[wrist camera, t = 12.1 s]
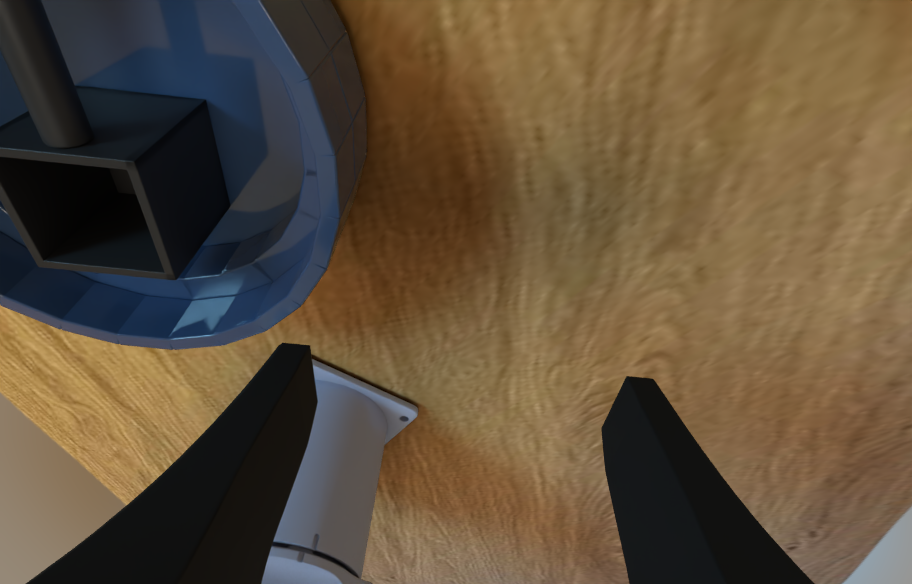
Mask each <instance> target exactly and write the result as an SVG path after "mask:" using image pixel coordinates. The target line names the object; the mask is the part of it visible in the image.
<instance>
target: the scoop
mask: <svg viewBox="0 0 912 584" xmlns="http://www.w3.org/2000/svg"><path fill="white" fill-rule="evenodd" d="M0 51H1V53H2V55H3V58H4V60H5V62H6V64H7V66H8V68H9V70H10V73H11V75H12V77H13V79H14V81H15V83H16V85H17V88H18V90H19V92H20V94H21V96H22V98H23V100H24V103H25V105H26V107H27V109H28V111H27V112H25V113H24V114H22V115H20V116H18V117H16V118H15V119H13V120H11V121H9V122H7V123H6V124H4V125H2V126H0V201H1V202H2V204H3V206H4V208H5V209H6V211H7V213H8V215H9V216H10V218H11V220H12V222H13V223H14V225H15V227H16V229H17V230H18V232H19V234H20V236H21V237H22V239H23V241H24V243H25V244H26V246H27V248H28V250H29V251H30V253H31V255H32V257H33V258H34V260H35V262H36V264H37V265H38V267H43V268H53V269H64V270H74V271H84V272H94V273H104V274H114V275H124V276H134V277H144V278H154V279H164V280H174V281H176V280H177V279H178V277H179V276H180V275H181V273H182V272H183V271H184V269H185V268H186V266H187V265H188V264H189V262H190V261H191V260H192V258H193V257H194V256H195V254H196V253H197V251H198V250H199V249H200V247H201V246H202V245H203V243H204V242H205V241H206V239H207V238H208V236H209V235H210V234H211V232H212V231H213V230H214V228H215V227H216V226H217V224H218V223H219V221H220V220H221V219H222V217H223V216H224V215H225V213H226V212H227V210H228V209H229V208H230V202H229V197H228V193H227V189H226V185H225V180H224V176H223V172H222V167H221V163H220V159H219V154H218V150H217V146H216V141H215V137H214V133H213V128H212V124H211V120H210V115H209V111H208V107H207V103H206V100H205V99H196V98H187V97H178V96H169V95H159V94H150V93H141V92H132V91H122V90H113V89H104V88H95V87H85V86H76V85H74V83H73V80H72V77H71V75H70V72H69V70H68V67H67V65H66V62H65V60H64V57H63V55H62V52H61V50H60V47H59V44H58V42H57V39H56V37H55V34H54V32H53V29H52V27H51V24H50V22H49V19H48V17H47V14H46V11H45V9H44V6H43V4H42V1H41V0H0Z"/></svg>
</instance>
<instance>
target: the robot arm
mask: <svg viewBox="0 0 912 584" xmlns="http://www.w3.org/2000/svg"><path fill="white" fill-rule="evenodd" d="M417 416H418V408H417V407H416V406H414V405H412V404H410V403H408V402H406V401H404V400H401V399H399V398H397V397H395V396H393V395H391V394H388V393H386V392H384V391H382V390H380V389H377V388H375V387H373V386H371V385H369V384H366V383H364V382H362V381H360V380H358V379H355V378H353V377H351V376H349V375H347V374H344V373H342V372H340V371H338V370H336V369H333V368H331V367H329V366H327V365H325V364H322V363H320V362H318V361H316V360H314V359H312V356H311V349H310V345H300V344H289V343H282V344H281V345H279V346H278V347H277V348H276V350H275V351H274V352H273V354H272V355H271V356H270V357H269V359H268V360H267V361H266V362H265V364H264V365H263V366H262V367H261V369H260V370H259V371H258V372H257V374H256V375H255V376H254V377H253V378H252V380H251V381H250V382H249V383H248V384H247V386H246V387H245V388H244V389H243V390H242V391H241V393H240V394H239V395H238V396H237V397H236V398H235V399H234V400H233V402H232V403H231V404H230V405H229V406H228V407H227V408H226V409H225V411H224V412H223V413H222V414H221V415H220V416H219V417H218V418H217V419H216V421H215V422H214V423H213V424H212V425H211V426H210V427H209V428H208V429H207V430H206V431H205V432H204V433H203V434H202V435H201V436H200V437H199V438H198V439H197V440H196V441H195V442H194V443H193V444H192V445H191V446H190V447H189V448H188V449H187V450H186V451H185V452H184V453H183V454H182V456H181V457H179V458H178V459H177V460H176V461H175V462H174V463H173V464H172V465H171V466H170V467H169V468H168V469H167V470H166V471H165V472H164V473H163V474H162V475H161V476H159V477H158V478H157V479H156V480H155V481H154V482H153V483H152V484H151V485H150V486H148V487H147V488H146V489H145V490H144V491H143V492H142V493H141V494H139V495H138V496H137V497H136V498H135V499H134V500H133V501H131V502H130V503H129V504H128V505H127V506H125V507H124V508H123V509H122V510H121V511H119V512H118V513H117V514H116V515H115V516H113V517H112V518H111V519H110V520H109V521H107V522H106V523H105V524H104V525H103V526H101V527H100V528H99V529H98V530H97V531H95V532H94V533H93V534H91V535H90V536H89V537H88V538H86V539H85V540H84V541H83V542H81V543H80V544H79V545H77V546H76V547H75V548H74V549H72V550H71V551H70V552H68V553H67V554H65V555H64V556H63V557H61V558H60V559H59V560H57V561H56V562H55V563H53V564H52V565H50V566H49V567H48V568H46V569H45V570H44V571H42V572H41V573H40V574H38V575H37V576H36V577H34V578H33V579H32V580H30V581H29V582H27V583H26V584H372V583H371V582H369V581H365V580H362V579H361V576H362V571H363V565H364V559H365V553H366V548H367V542H368V536H369V531H370V525H371V519H372V513H373V508H374V502H375V496H376V491H377V485H378V479H379V474H380V468H381V462H382V456H383V451H384V445H385V444H386V443H388V442H389V441H390V440H391V439H392V438H393V437H395V436H396V435H397V434H398V433H399V432H400V431H401V430H403V429H404V428H405V427H406V426H407V425H408V424H409V423H411V422H412V421H413V420H414V419H415V418H416V417H417ZM602 440H603V452H604V462H605V471H606V476H607V481H608V486H609V490H610V495H611V500H612V504H613V509H614V513H615V518H616V522H617V527H618V531H619V536H620V540H621V545H622V549H623V554H624V558H625V563H626V567H627V573H628V578H629V584H814V583H813V582H812V581H811V580H810V579H809V578H808V577H807V575H806V574H805V573H804V572H803V571H802V570H801V569H800V568H799V567H798V566H797V565H796V564H795V563H794V562H793V561H792V559H791V558H790V557H789V556H788V555H787V554H786V553H785V552H784V551H783V550H782V548H781V547H780V546H779V545H778V544H777V543H776V542H775V541H774V540H773V539H772V537H771V536H770V535H769V534H768V533H767V532H766V531H765V529H764V528H763V527H762V526H761V525H760V524H759V522H758V521H757V520H756V519H755V518H754V516H753V515H752V514H751V513H750V511H749V510H748V509H747V508H746V507H745V505H744V504H743V503H742V502H741V500H740V499H739V498H738V497H737V495H736V494H735V493H734V492H733V490H732V489H731V488H730V486H729V485H728V484H727V482H726V481H725V480H724V479H723V477H722V476H721V475H720V473H719V472H718V471H717V469H716V468H715V466H714V465H713V464H712V462H711V461H710V460H709V458H708V457H707V456H706V454H705V453H704V451H703V450H702V449H701V447H700V446H699V445H698V443H697V442H696V440H695V439H694V437H693V436H692V435H691V433H690V432H689V430H688V429H687V427H686V426H685V425H684V423H683V422H682V420H681V419H680V417H679V416H678V414H677V413H676V411H675V410H674V408H673V407H672V405H671V404H670V403H669V401H668V400H667V398H666V397H665V395H664V394H663V392H662V391H661V389H660V388H659V386H658V385H657V383H656V382H655V381H654V379H650V378H639V377H629V376H627V377H626V379H625V381H624V383H623V385H622V387H621V389H620V391H619V393H618V395H617V397H616V399H615V401H614V404H613V406H612V408H611V410H610V412H609V414H608V416H607V418H606V420H605V422H604V424H603V426H602Z"/></svg>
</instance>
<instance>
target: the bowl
mask: <svg viewBox="0 0 912 584" xmlns="http://www.w3.org/2000/svg"><path fill="white" fill-rule="evenodd" d="M41 1H42V4H43V6H44V9H45V11H46V14H47V17H48V19H49V22H50V24H51V27H52V29H53V32H54V34H55V37H56V39H57V42H58V44H59V47H60V50H61V52H62V55H63V57H64V60H65V62H66V65H67V67H68V70H69V72H70V75H71V77H72V80H73V83H74V85H76V86H85V87H95V88H104V89H113V90H122V91H132V92H141V93H150V94H159V95H169V96H178V97H187V98H196V99H205V100H206V103H207V107H208V111H209V115H210V120H211V124H212V128H213V133H214V137H215V141H216V146H217V150H218V154H219V159H220V163H221V167H222V172H223V176H224V180H225V185H226V189H227V193H228V197H229V202H230V208H229V209H228V210H227V212H226V213H225V215H224V216H223V217H222V219H221V220H220V221H219V223H218V224H217V226H216V227H215V228H214V230H213V231H212V232H211V234H210V235H209V236H208V238H207V239H206V241H205V242H204V243H203V245H202V246H201V247H200V249H199V250H198V251H197V253H196V254H195V256H194V257H193V258H192V260H191V261H190V262H189V264H188V265H187V266H186V268H185V269H184V271H183V272H182V273H181V275H180V276H179V277H178V279H177V280H176V281H174V280H164V279H154V278H144V277H134V276H124V275H114V274H104V273H94V272H84V271H74V270H64V269H53V268H43V267H38V265H37V264H36V262H35V260H34V258H33V257H32V255H31V253H30V251H29V250H28V248H27V246H26V244H25V243H24V241H23V239H22V237H21V236H20V234H19V232H18V230H17V229H16V227H15V225H14V223H13V222H12V220H11V218H10V216H9V215H8V213H7V211H6V209H5V208H4V206H3V204H2V202H1V201H0V305H1V306H3V307H6V308H8V309H11V310H13V311H16V312H18V313H21V314H23V315H26V316H28V317H31V318H33V319H35V320H38V321H40V322H43V323H45V324H48V325H50V326H53V327H55V328H58V329H62V330H64V331H68V332H72V333H76V334H80V335H84V336H87V337H91V338H95V339H99V340H103V341H107V342H111V343H115V344H121V345H128V346H138V347H149V348H159V349H169V350H173V349H174V350H178V349H189V348H200V347H211V346H221V345H226V344H229V343H232V342H235V341H238V340H241V339H244V338H247V337H250V336H253V335H256V334H259V333H262V332H265V331H267V330H268V329H270V328H271V327H272V326H274V325H275V324H277V323H278V322H279V321H281V320H282V319H284V318H285V317H287V316H288V315H289V314H291V313H292V312H294V311H295V310H296V309H298V308H299V307H301V305H302V304H303V303H304V302H305V300H306V299H307V298H308V296H309V295H310V293H311V292H312V290H313V289H314V288H315V286H316V285H317V283H318V282H319V280H320V279H321V277H322V276H323V275H324V273H325V272H326V270H327V268H328V266H329V264H330V261H331V259H332V256H333V253H334V251H335V248H336V246H337V243H338V240H339V238H340V235H341V233H342V230H343V227H344V225H345V222H346V220H347V217H348V215H349V212H350V209H351V207H352V204H353V202H354V199H355V196H356V192H357V189H358V185H359V181H360V178H361V174H362V170H363V166H364V163H365V159H366V153H367V127H366V98H365V93H364V89H363V86H362V82H361V79H360V75H359V72H358V68H357V65H356V61H355V58H354V54H353V51H352V47H351V43H350V40H349V36H348V34H347V32H346V28H345V27H344V25H343V23H342V21H341V19H340V17H339V16H338V14H337V12H336V10H335V8H334V6H333V5H332V3H331V1H330V0H41ZM27 111H28V109H27V107H26V105H25V103H24V100H23V98H22V96H21V94H20V92H19V90H18V88H17V85H16V83H15V81H14V79H13V77H12V75H11V73H10V70H9V68H8V66H7V64H6V62H5V60H4V58H3V55H2V53H1V51H0V126H2V125H4V124H6V123H7V122H9V121H11V120H13V119H15V118H16V117H18V116H20V115H22V114H24V113H25V112H27Z"/></svg>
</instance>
